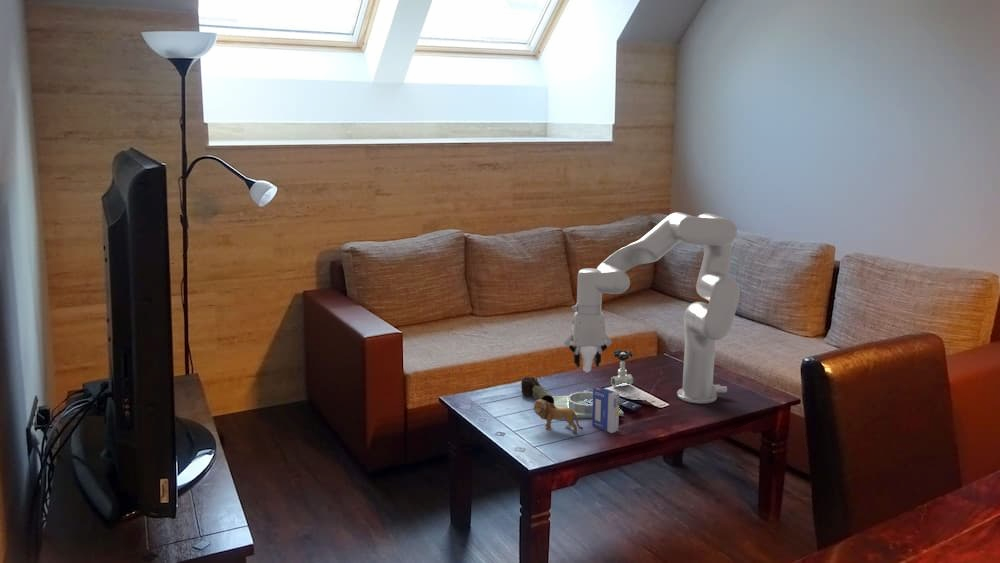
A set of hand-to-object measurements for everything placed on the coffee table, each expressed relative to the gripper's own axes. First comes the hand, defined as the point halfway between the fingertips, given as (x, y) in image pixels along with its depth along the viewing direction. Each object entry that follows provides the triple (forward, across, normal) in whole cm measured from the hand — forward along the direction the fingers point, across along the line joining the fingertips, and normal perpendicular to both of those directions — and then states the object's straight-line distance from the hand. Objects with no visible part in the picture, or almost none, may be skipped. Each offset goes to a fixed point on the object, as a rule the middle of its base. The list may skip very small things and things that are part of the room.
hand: (587, 364), depth 249 cm
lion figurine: (+15, -12, -16) cm, 24 cm away
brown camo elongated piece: (+15, -15, +10) cm, 23 cm away
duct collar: (+14, 0, 0) cm, 14 cm away
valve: (+14, +16, +18) cm, 28 cm away
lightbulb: (+3, 0, 0) cm, 3 cm away
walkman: (+15, +2, -16) cm, 22 cm away
